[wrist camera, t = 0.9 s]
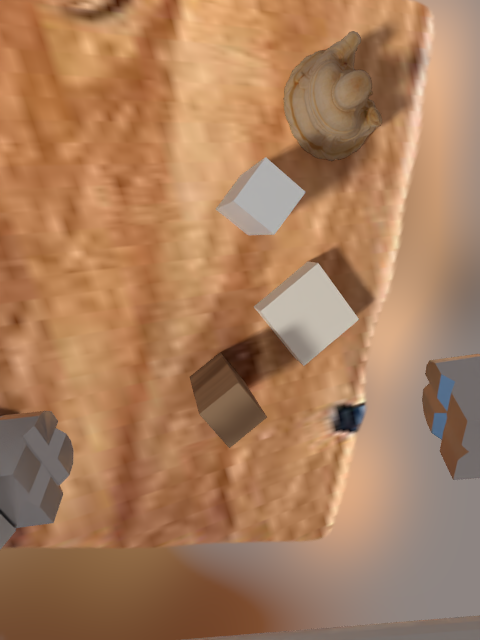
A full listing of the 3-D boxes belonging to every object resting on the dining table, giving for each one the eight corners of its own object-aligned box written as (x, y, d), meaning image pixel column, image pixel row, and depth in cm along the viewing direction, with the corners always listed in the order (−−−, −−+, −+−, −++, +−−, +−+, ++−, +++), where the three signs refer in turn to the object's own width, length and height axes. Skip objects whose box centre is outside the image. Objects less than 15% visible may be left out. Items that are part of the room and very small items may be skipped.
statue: (264, 58, 40) (366, -9, 38) (266, 84, 53) (342, 36, 51) (322, 179, 43) (420, 124, 41) (310, 176, 56) (383, 134, 54)
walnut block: (189, 377, 55) (199, 414, 43) (220, 352, 55) (238, 382, 43) (213, 404, 56) (229, 448, 45) (243, 380, 56) (267, 417, 45)
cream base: (253, 306, 55) (260, 311, 51) (306, 261, 55) (318, 263, 52) (294, 357, 57) (304, 365, 54) (345, 313, 58) (359, 319, 54)
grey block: (215, 209, 52) (233, 200, 40) (240, 175, 51) (265, 157, 40) (247, 235, 53) (274, 234, 41) (272, 202, 53) (305, 192, 41)
